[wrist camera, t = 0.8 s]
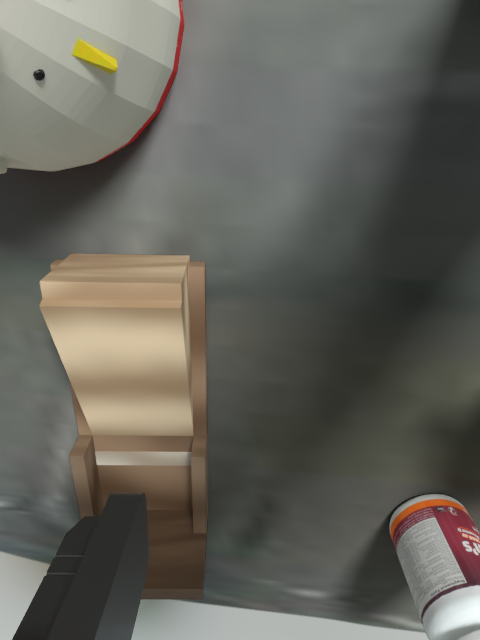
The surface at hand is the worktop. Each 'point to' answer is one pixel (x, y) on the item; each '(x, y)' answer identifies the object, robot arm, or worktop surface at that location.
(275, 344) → the worktop surface
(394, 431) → the worktop surface
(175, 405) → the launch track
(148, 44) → the white dome
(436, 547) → the pill bottle
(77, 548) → the robot arm
